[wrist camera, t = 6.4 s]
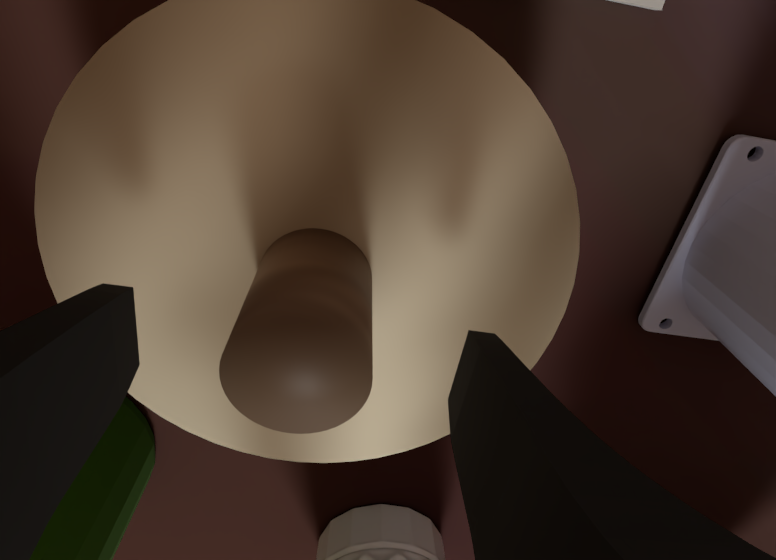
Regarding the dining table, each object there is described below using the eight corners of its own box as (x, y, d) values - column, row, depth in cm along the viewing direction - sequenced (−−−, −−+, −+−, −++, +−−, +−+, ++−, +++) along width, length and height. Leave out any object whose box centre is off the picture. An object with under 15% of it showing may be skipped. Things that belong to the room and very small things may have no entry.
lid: (654, 38, 12) (816, 60, 7) (493, 461, 18) (530, 600, 14) (2, -88, 10) (-260, -149, 6) (87, 423, 17) (-8, 565, 13)
